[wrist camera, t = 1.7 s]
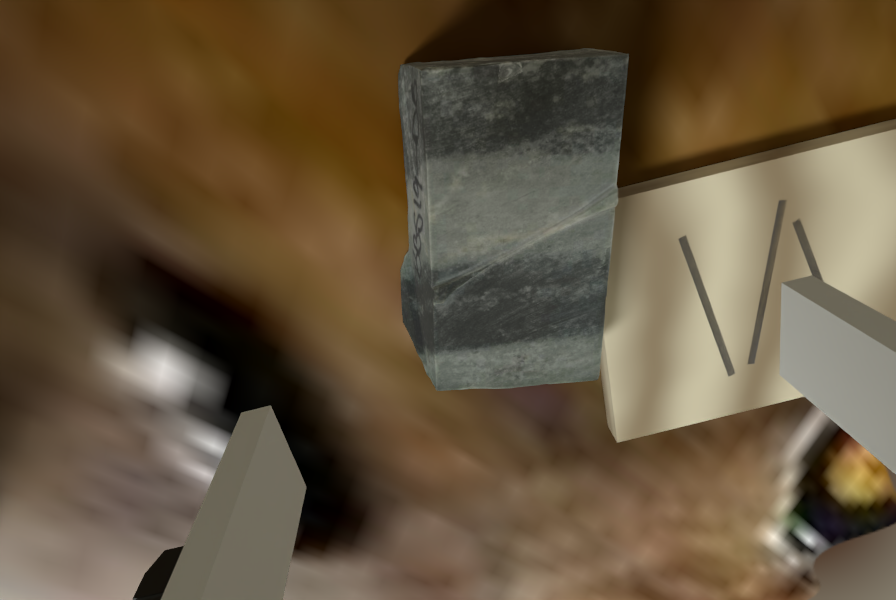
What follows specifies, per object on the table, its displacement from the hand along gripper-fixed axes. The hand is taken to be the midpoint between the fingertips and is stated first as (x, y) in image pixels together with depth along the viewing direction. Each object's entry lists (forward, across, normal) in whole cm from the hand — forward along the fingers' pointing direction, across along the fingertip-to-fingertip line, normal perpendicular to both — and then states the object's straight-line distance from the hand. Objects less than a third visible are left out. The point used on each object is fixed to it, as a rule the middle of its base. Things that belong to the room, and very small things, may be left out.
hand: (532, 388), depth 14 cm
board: (+14, +14, -7) cm, 21 cm away
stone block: (+15, +1, 0) cm, 15 cm away
